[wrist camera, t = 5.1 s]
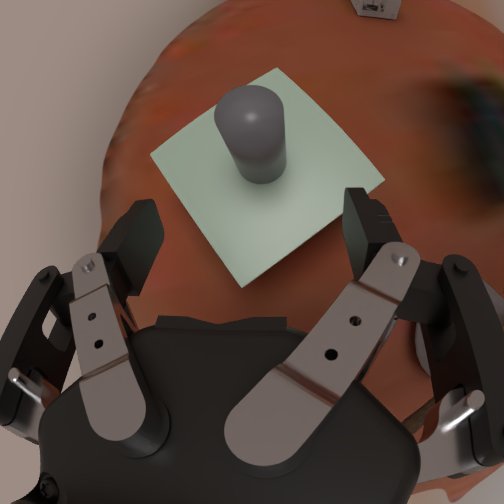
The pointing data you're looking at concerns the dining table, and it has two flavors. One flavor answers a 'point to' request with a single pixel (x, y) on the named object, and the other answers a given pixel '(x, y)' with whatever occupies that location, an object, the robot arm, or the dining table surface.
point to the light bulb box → (377, 8)
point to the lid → (263, 172)
